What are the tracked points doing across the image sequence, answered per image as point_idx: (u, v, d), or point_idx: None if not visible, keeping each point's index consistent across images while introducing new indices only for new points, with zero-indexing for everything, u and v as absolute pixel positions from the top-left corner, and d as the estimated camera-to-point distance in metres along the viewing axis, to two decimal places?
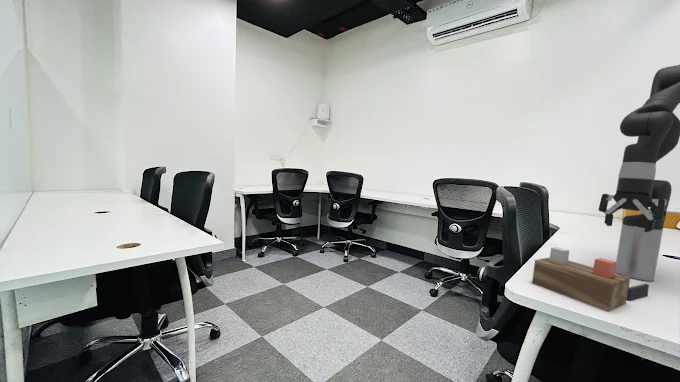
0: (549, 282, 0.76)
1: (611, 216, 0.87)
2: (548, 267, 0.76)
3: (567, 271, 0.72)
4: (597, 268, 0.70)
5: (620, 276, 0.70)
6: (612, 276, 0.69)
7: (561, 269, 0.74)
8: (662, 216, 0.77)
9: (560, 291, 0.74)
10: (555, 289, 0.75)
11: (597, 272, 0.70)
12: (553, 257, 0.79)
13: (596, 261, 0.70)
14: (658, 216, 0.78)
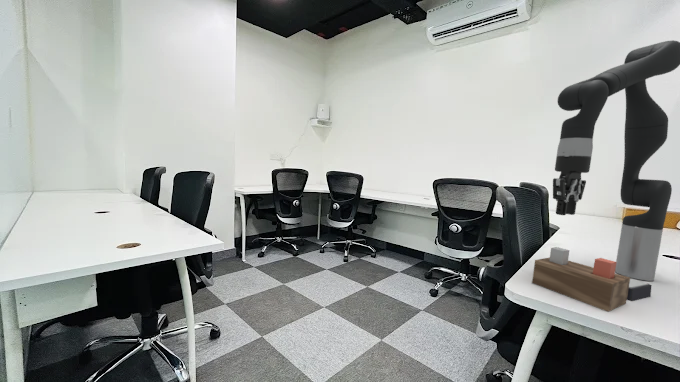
0: (549, 282, 0.76)
1: None
2: (548, 267, 0.76)
3: (567, 271, 0.72)
4: (597, 268, 0.70)
5: (620, 276, 0.70)
6: (612, 276, 0.69)
7: (561, 269, 0.74)
8: None
9: (560, 291, 0.74)
10: (555, 289, 0.75)
11: (597, 272, 0.70)
12: (553, 257, 0.79)
13: (596, 261, 0.70)
14: (580, 197, 0.78)
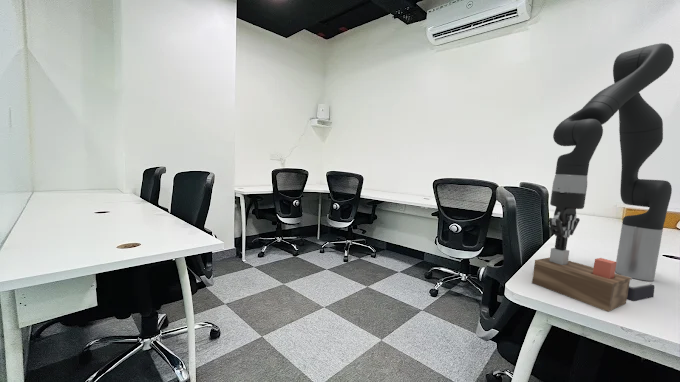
0: (549, 282, 0.76)
1: None
2: (548, 267, 0.76)
3: (567, 271, 0.72)
4: (597, 268, 0.70)
5: (620, 276, 0.70)
6: (612, 276, 0.69)
7: (561, 269, 0.74)
8: None
9: (560, 291, 0.74)
10: (555, 289, 0.75)
11: (597, 272, 0.70)
12: (553, 257, 0.79)
13: (596, 261, 0.70)
14: (571, 232, 0.78)
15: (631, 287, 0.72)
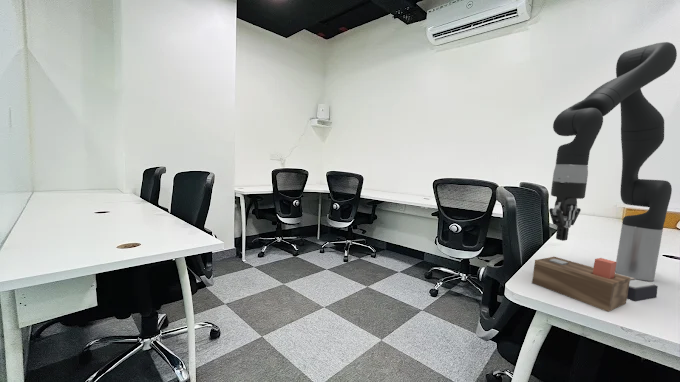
0: (549, 282, 0.76)
1: None
2: (548, 267, 0.76)
3: (567, 271, 0.72)
4: (597, 268, 0.70)
5: (620, 276, 0.70)
6: (612, 276, 0.69)
7: (561, 269, 0.74)
8: None
9: (560, 291, 0.74)
10: (555, 289, 0.75)
11: (597, 272, 0.70)
12: None
13: (596, 261, 0.70)
14: (572, 222, 0.78)
15: (633, 287, 0.73)
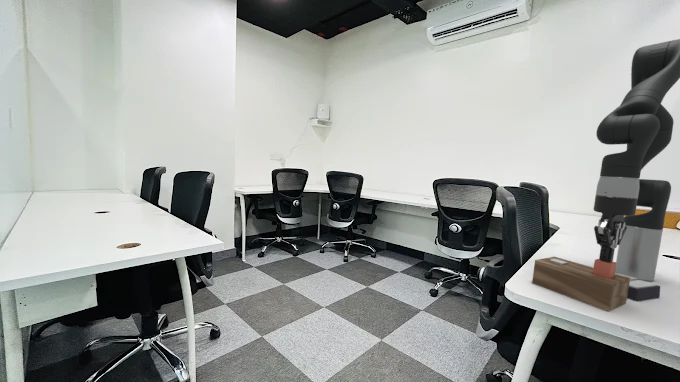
0: (549, 282, 0.76)
1: None
2: (548, 267, 0.76)
3: (567, 271, 0.72)
4: (597, 269, 0.70)
5: (620, 276, 0.70)
6: (612, 277, 0.69)
7: (561, 269, 0.74)
8: None
9: (560, 291, 0.74)
10: (555, 289, 0.75)
11: (596, 272, 0.70)
12: None
13: (596, 262, 0.70)
14: (618, 242, 0.69)
15: (635, 287, 0.73)
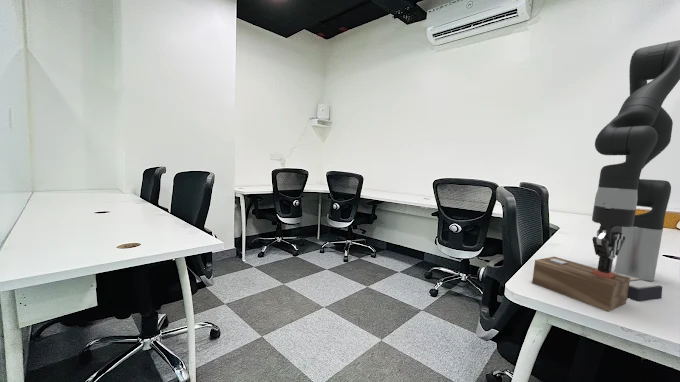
0: (549, 282, 0.76)
1: None
2: (548, 267, 0.76)
3: (567, 271, 0.72)
4: None
5: (620, 276, 0.70)
6: None
7: (561, 269, 0.74)
8: None
9: (560, 291, 0.74)
10: (555, 289, 0.75)
11: None
12: None
13: (594, 272, 0.70)
14: (617, 253, 0.69)
15: (636, 287, 0.73)
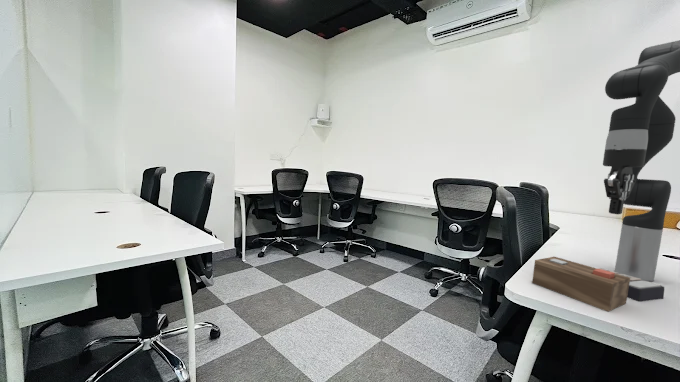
0: (549, 282, 0.76)
1: None
2: (548, 267, 0.76)
3: (567, 271, 0.72)
4: None
5: (620, 276, 0.70)
6: None
7: (561, 269, 0.74)
8: None
9: (560, 291, 0.74)
10: (555, 289, 0.75)
11: None
12: None
13: (594, 272, 0.70)
14: (627, 195, 0.71)
15: (637, 287, 0.73)
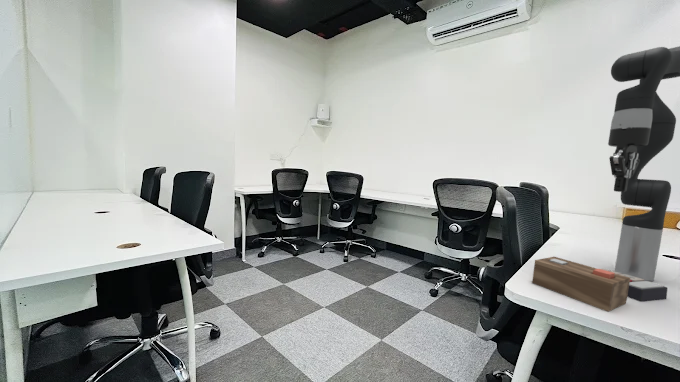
0: (549, 282, 0.76)
1: None
2: (548, 267, 0.76)
3: (567, 271, 0.72)
4: None
5: (620, 276, 0.70)
6: None
7: (561, 269, 0.74)
8: None
9: (560, 291, 0.74)
10: (555, 289, 0.75)
11: None
12: None
13: (594, 272, 0.70)
14: (632, 173, 0.74)
15: (639, 288, 0.73)
